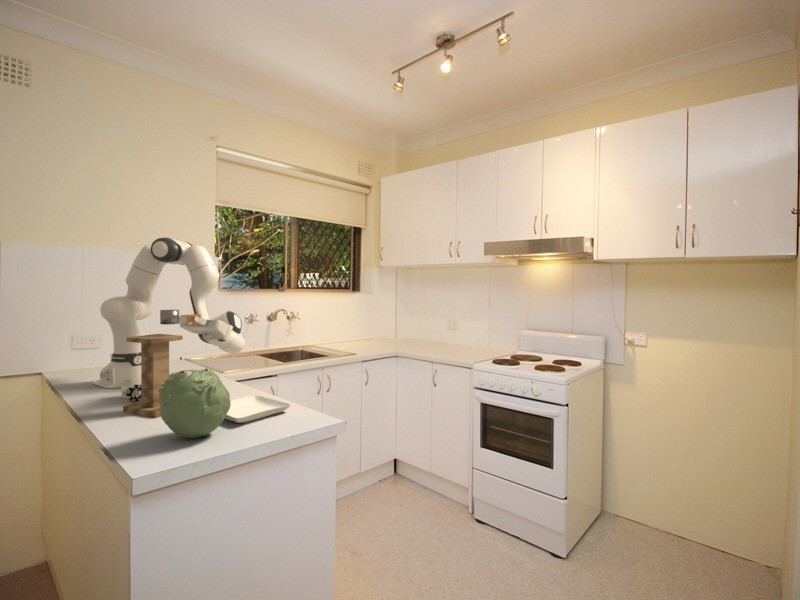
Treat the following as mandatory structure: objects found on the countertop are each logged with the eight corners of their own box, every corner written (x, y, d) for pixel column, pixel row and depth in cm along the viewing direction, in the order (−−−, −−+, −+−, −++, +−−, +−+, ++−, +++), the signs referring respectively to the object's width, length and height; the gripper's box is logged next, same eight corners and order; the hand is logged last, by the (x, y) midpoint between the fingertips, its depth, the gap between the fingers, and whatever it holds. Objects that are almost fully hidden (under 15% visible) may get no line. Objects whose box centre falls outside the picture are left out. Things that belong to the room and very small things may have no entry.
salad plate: (255, 402, 155) (255, 393, 155) (292, 412, 143) (292, 403, 143) (201, 416, 138) (201, 406, 138) (237, 429, 126) (237, 418, 126)
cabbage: (238, 436, 119) (238, 368, 118) (165, 453, 106) (165, 377, 106) (220, 422, 131) (220, 360, 130) (153, 436, 118) (152, 367, 118)
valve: (115, 398, 158) (126, 404, 151) (115, 381, 158) (126, 386, 151) (135, 394, 164) (146, 400, 156) (134, 378, 163) (146, 383, 156)
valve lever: (156, 324, 146) (156, 310, 146) (191, 321, 160) (191, 308, 160) (168, 324, 144) (168, 310, 144) (203, 321, 158) (203, 308, 158)
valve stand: (123, 411, 141) (122, 336, 140) (155, 403, 152) (155, 333, 151) (155, 417, 135) (155, 339, 134) (186, 408, 146) (186, 335, 145)
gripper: (198, 324, 172) (173, 309, 161) (236, 326, 164) (212, 310, 153) (192, 338, 169) (166, 323, 158) (230, 341, 162) (205, 326, 150)
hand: (189, 317), depth 155 cm, fingers closed on valve lever, 3 cm apart
